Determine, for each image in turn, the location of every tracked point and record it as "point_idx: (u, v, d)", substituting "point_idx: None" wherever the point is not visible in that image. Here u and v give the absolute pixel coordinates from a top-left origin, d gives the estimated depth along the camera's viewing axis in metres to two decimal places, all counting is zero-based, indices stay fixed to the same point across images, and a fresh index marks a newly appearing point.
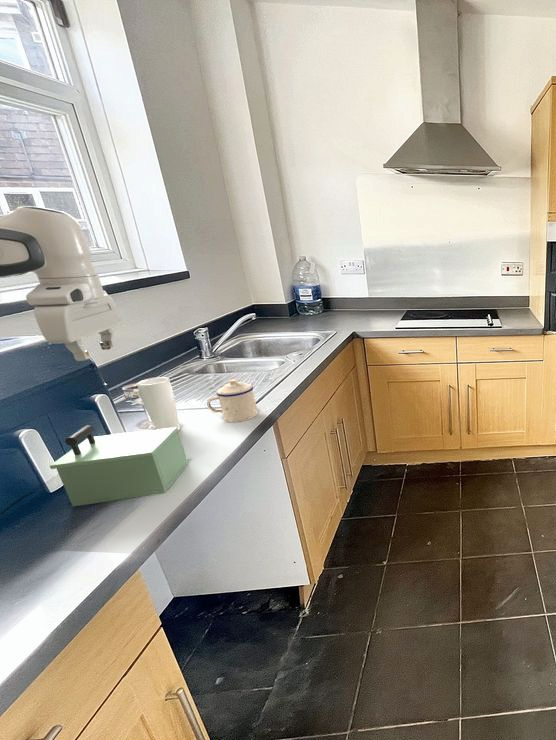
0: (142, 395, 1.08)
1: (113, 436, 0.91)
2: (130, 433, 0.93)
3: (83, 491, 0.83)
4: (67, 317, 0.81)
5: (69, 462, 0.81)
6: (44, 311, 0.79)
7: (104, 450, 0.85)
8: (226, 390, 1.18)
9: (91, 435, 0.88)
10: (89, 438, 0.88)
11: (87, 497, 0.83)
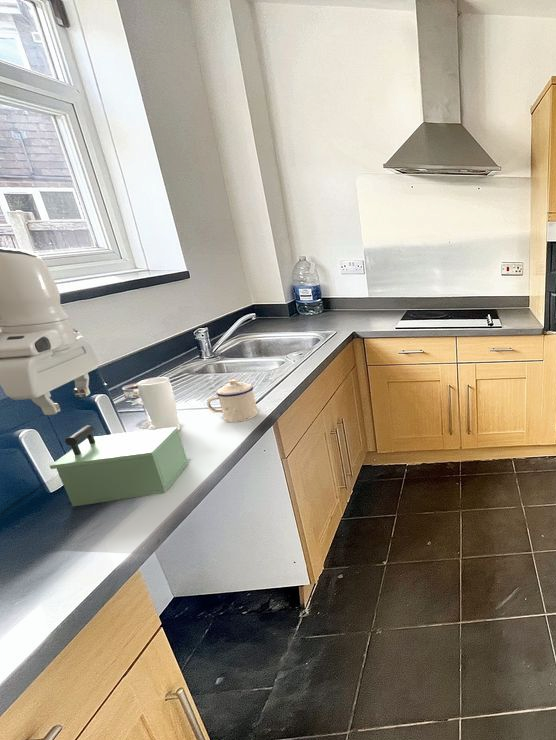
0: (142, 395, 1.08)
1: (113, 436, 0.91)
2: (130, 433, 0.93)
3: (83, 491, 0.83)
4: (31, 370, 0.72)
5: (69, 462, 0.81)
6: (5, 365, 0.71)
7: (104, 450, 0.85)
8: (226, 390, 1.18)
9: (91, 435, 0.88)
10: (89, 438, 0.88)
11: (87, 497, 0.83)
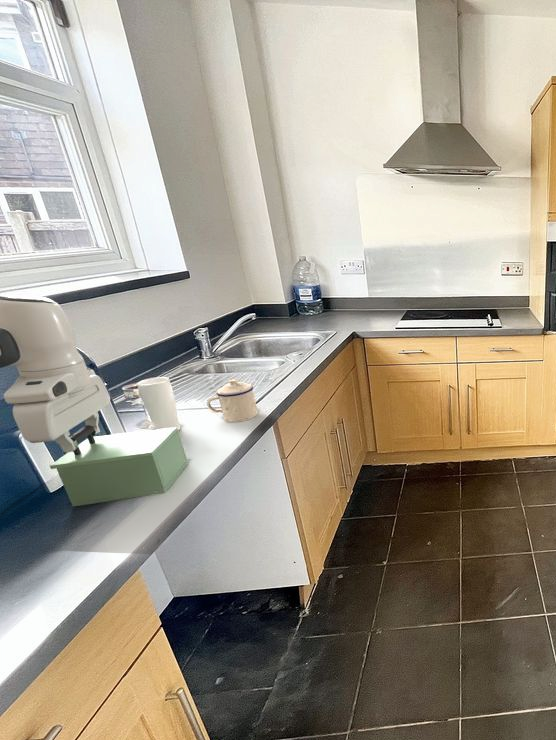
0: (142, 395, 1.08)
1: (113, 436, 0.91)
2: (130, 433, 0.93)
3: (83, 491, 0.83)
4: (49, 414, 0.75)
5: (69, 462, 0.81)
6: (23, 410, 0.73)
7: (104, 450, 0.85)
8: (226, 390, 1.18)
9: (91, 435, 0.88)
10: (89, 438, 0.88)
11: (87, 497, 0.83)
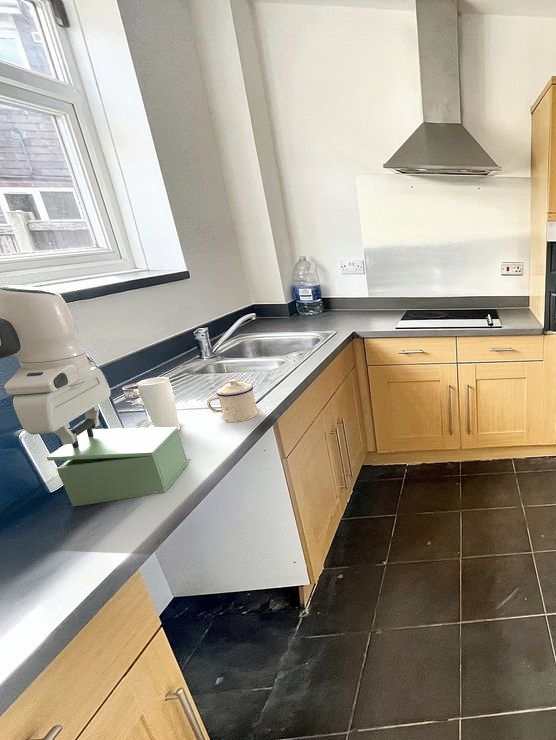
0: (142, 395, 1.08)
1: (112, 431, 0.91)
2: (129, 429, 0.92)
3: (83, 491, 0.83)
4: (49, 406, 0.75)
5: (67, 455, 0.80)
6: (24, 401, 0.73)
7: (103, 445, 0.85)
8: (226, 390, 1.18)
9: (90, 428, 0.87)
10: (88, 431, 0.87)
11: (87, 497, 0.83)
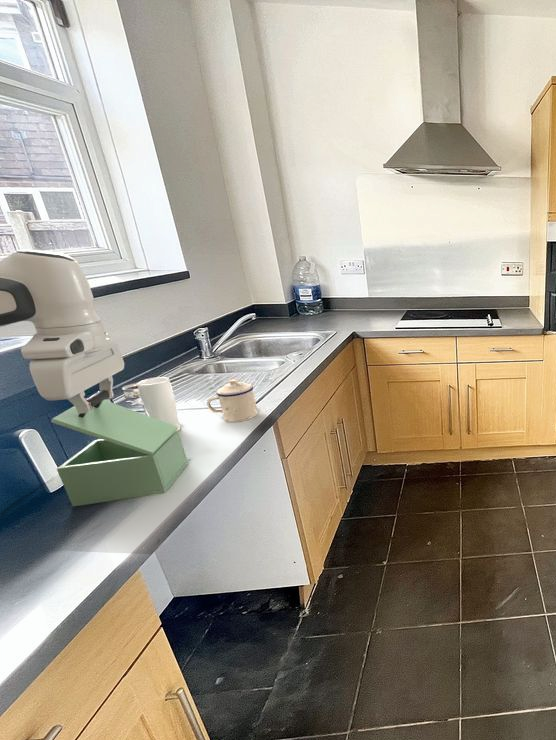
0: (142, 395, 1.08)
1: (117, 408, 0.90)
2: (133, 412, 0.91)
3: (83, 491, 0.83)
4: (66, 371, 0.74)
5: (72, 424, 0.79)
6: (40, 366, 0.72)
7: (107, 424, 0.84)
8: (226, 390, 1.18)
9: (101, 400, 0.86)
10: (97, 402, 0.86)
11: (87, 497, 0.83)
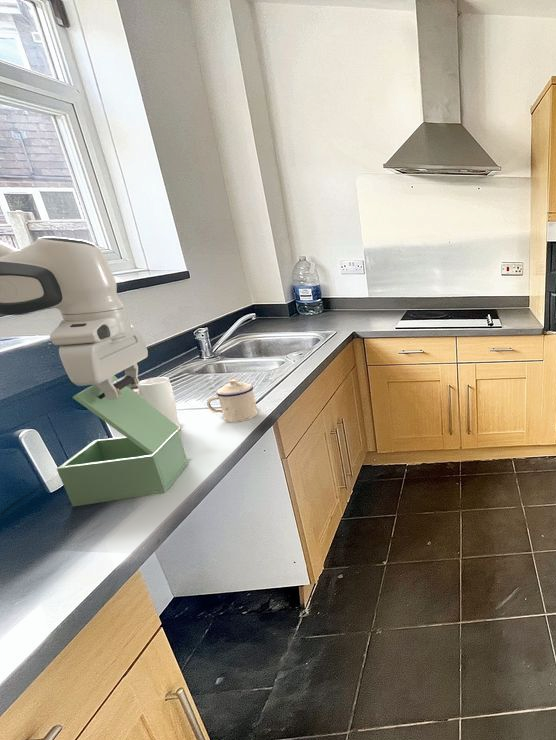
0: (142, 395, 1.08)
1: (131, 394, 0.90)
2: (144, 402, 0.91)
3: (83, 491, 0.83)
4: (94, 356, 0.74)
5: (91, 405, 0.79)
6: (70, 351, 0.73)
7: (120, 412, 0.84)
8: (226, 390, 1.18)
9: None
10: None
11: (87, 497, 0.83)
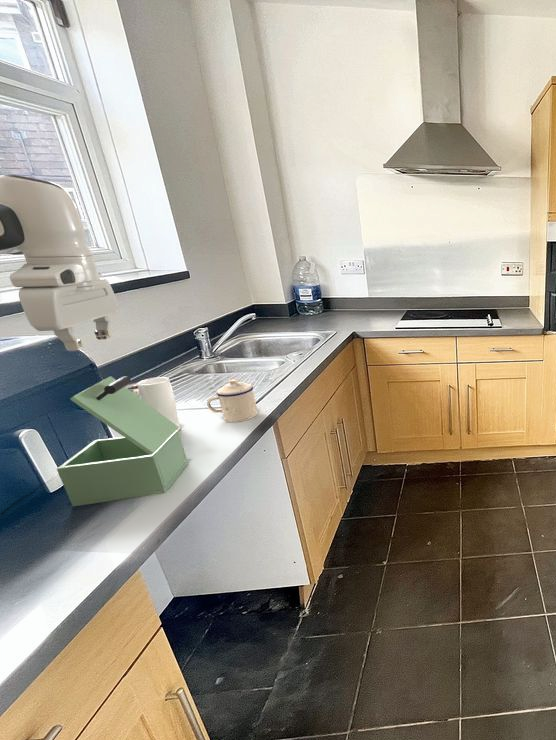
0: (142, 395, 1.08)
1: (129, 395, 0.90)
2: (143, 402, 0.91)
3: (83, 491, 0.83)
4: (56, 300, 0.72)
5: (89, 406, 0.79)
6: (30, 294, 0.70)
7: (119, 413, 0.84)
8: (226, 390, 1.18)
9: None
10: None
11: (87, 497, 0.83)
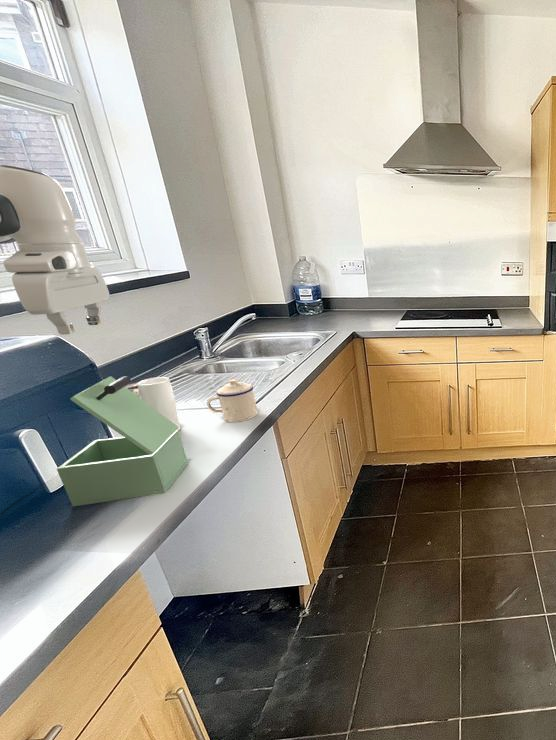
0: (142, 395, 1.08)
1: (129, 395, 0.90)
2: (143, 402, 0.91)
3: (83, 491, 0.83)
4: (48, 285, 0.75)
5: (89, 406, 0.79)
6: (23, 278, 0.74)
7: (119, 413, 0.84)
8: (226, 390, 1.18)
9: None
10: None
11: (87, 497, 0.83)
